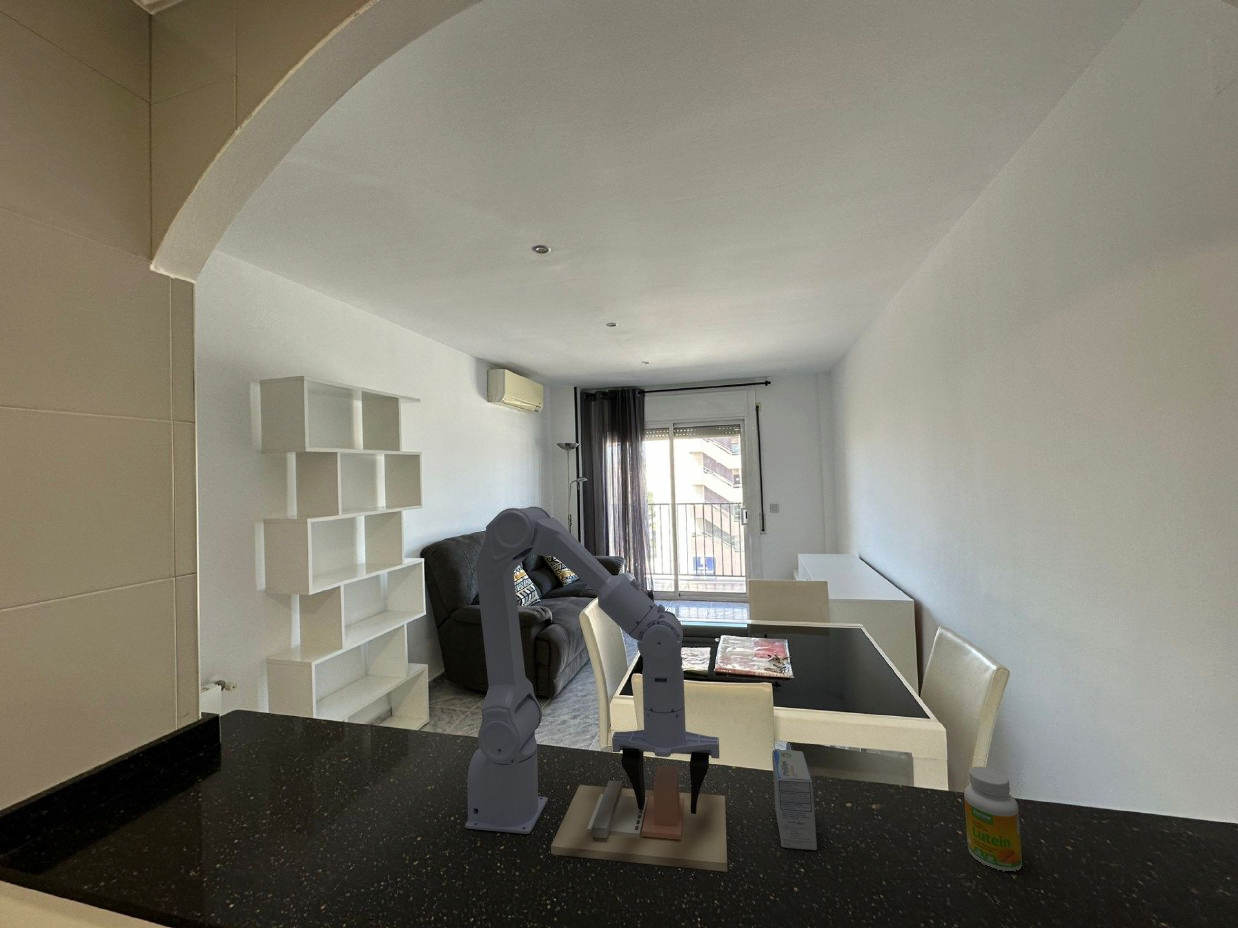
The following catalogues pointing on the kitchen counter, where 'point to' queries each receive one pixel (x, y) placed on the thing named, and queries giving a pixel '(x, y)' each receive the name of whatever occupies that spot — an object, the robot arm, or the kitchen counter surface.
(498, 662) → the robot arm
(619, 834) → the board
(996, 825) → the supplement bottle
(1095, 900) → the kitchen counter surface
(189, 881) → the kitchen counter surface
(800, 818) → the medicine box
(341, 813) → the kitchen counter surface
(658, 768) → the stub
